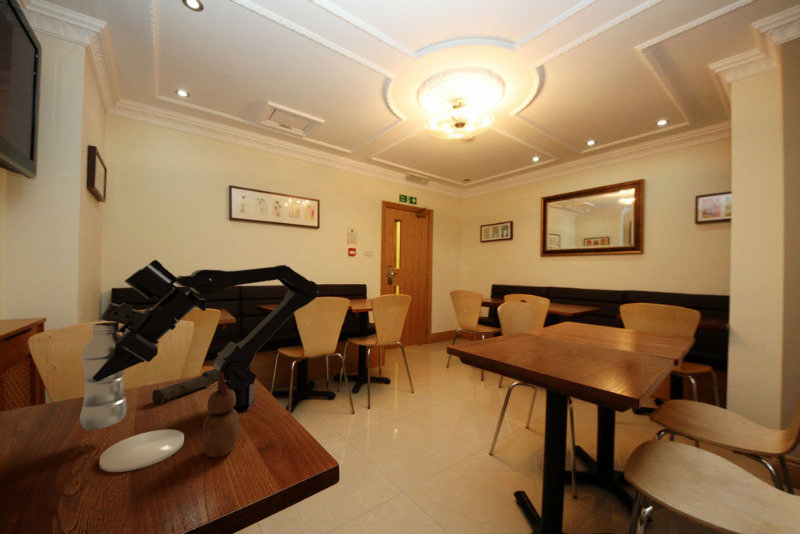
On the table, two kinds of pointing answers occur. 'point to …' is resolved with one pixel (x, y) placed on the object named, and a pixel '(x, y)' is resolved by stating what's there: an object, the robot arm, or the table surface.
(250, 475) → the table surface
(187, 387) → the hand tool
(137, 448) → the saucer
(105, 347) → the plastic bottle
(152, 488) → the table surface
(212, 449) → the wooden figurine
